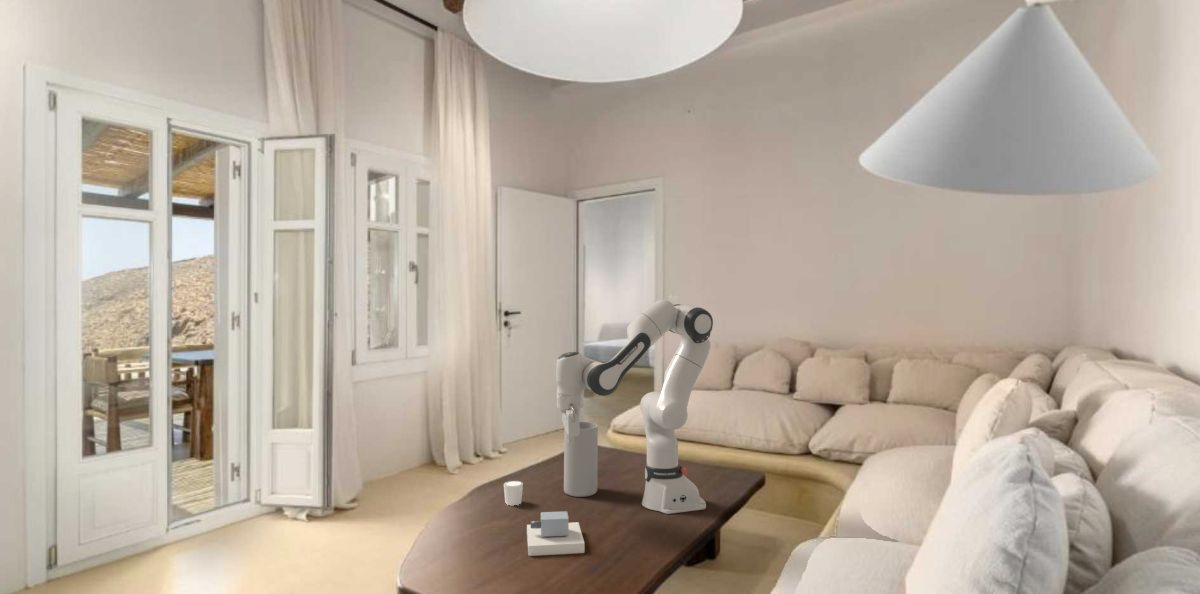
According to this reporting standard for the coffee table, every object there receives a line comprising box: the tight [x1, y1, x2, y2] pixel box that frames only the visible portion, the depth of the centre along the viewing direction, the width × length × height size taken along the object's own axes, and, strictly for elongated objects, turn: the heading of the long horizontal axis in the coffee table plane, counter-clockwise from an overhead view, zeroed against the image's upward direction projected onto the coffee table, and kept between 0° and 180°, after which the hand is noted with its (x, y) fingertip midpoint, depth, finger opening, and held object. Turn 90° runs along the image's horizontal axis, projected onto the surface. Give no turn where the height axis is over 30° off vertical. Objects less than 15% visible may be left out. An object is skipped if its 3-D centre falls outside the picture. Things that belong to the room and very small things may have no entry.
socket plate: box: [526, 521, 586, 557], centre depth 180 cm, size 16×16×4 cm
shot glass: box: [503, 480, 524, 507], centre depth 214 cm, size 7×7×7 cm
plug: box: [530, 510, 570, 538], centre depth 180 cm, size 11×6×8 cm, turn 97°
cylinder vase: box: [563, 421, 599, 498], centre depth 227 cm, size 12×12×25 cm
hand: (571, 443), depth 199 cm, fingers closed
